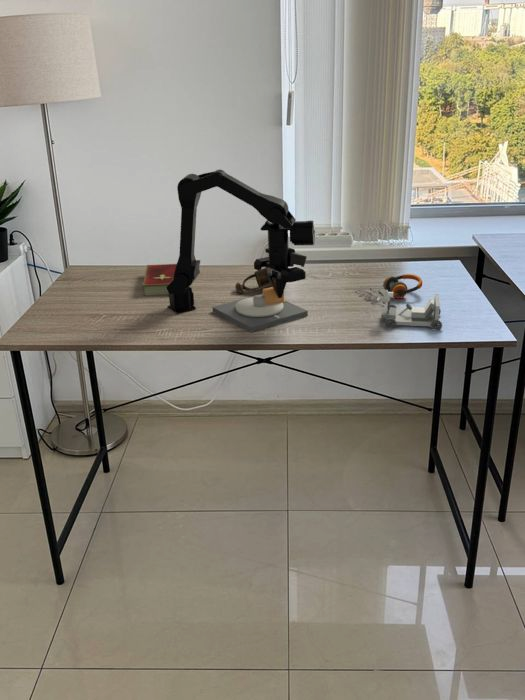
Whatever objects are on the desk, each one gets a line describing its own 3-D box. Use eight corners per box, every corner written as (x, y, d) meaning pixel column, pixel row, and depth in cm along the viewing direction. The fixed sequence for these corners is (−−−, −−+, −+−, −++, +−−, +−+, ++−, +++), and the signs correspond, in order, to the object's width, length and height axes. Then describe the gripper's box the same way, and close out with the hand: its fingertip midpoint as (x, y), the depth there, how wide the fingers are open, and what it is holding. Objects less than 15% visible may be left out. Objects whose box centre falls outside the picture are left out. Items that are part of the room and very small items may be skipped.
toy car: (376, 294, 200) (378, 281, 210) (375, 328, 204) (376, 313, 214) (444, 297, 197) (442, 283, 207) (441, 331, 201) (440, 315, 211)
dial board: (250, 332, 202) (250, 326, 202) (212, 311, 217) (212, 306, 217) (307, 315, 213) (307, 309, 212) (267, 296, 228) (267, 291, 227)
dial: (246, 320, 206) (246, 302, 204) (228, 304, 218) (227, 287, 215) (293, 311, 211) (293, 293, 209) (272, 296, 223) (272, 279, 221)
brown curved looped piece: (276, 279, 226) (278, 263, 234) (234, 275, 226) (238, 259, 234) (274, 299, 230) (276, 282, 238) (234, 295, 231) (237, 278, 239)
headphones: (350, 283, 230) (405, 263, 233) (353, 297, 232) (408, 277, 235) (372, 300, 216) (431, 279, 218) (374, 316, 218) (433, 294, 221)
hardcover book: (183, 274, 251) (182, 262, 250) (181, 295, 232) (180, 282, 230) (148, 276, 251) (147, 264, 249) (143, 297, 232) (142, 284, 230)
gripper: (321, 246, 204) (321, 300, 210) (283, 234, 218) (285, 285, 224) (287, 253, 198) (289, 308, 204) (251, 240, 213) (254, 292, 219)
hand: (280, 297), depth 213 cm, fingers closed
